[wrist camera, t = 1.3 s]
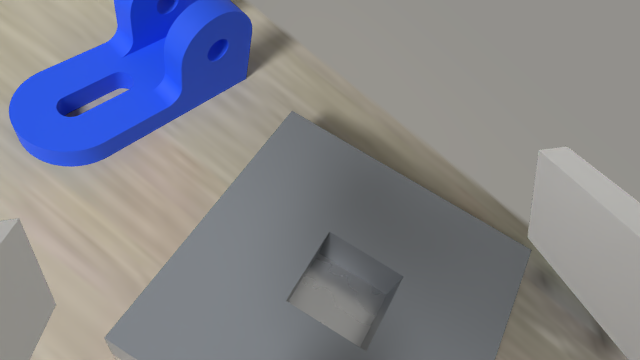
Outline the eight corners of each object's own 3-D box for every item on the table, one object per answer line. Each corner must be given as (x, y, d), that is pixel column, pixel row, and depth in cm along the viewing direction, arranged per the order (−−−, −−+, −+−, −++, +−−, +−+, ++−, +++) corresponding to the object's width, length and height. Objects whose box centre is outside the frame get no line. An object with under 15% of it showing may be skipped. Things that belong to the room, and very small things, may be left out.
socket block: (115, 359, 32) (104, 337, 28) (282, 148, 43) (292, 110, 39) (396, 548, 30) (429, 555, 26) (497, 276, 41) (531, 249, 37)
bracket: (187, 24, 49) (186, -63, 41) (245, 79, 47) (256, -2, 39) (-5, 113, 40) (-51, 22, 32) (57, 187, 38) (23, 107, 30)
